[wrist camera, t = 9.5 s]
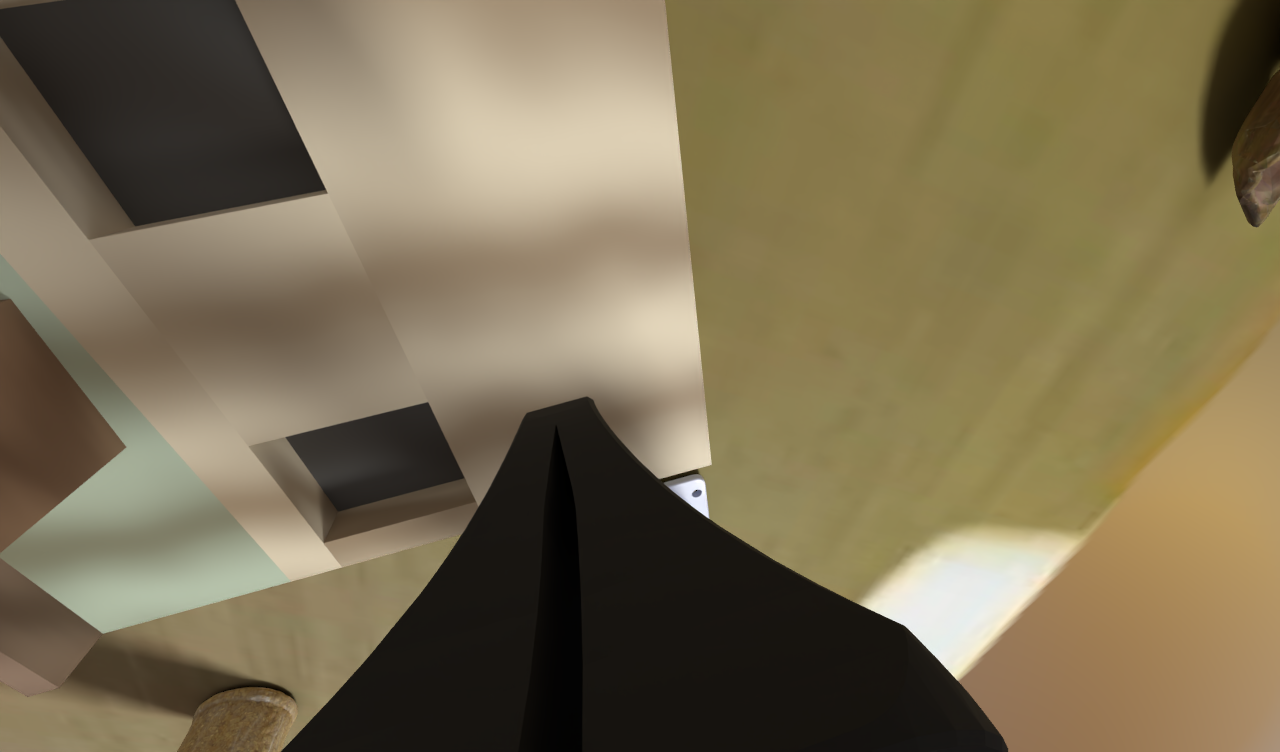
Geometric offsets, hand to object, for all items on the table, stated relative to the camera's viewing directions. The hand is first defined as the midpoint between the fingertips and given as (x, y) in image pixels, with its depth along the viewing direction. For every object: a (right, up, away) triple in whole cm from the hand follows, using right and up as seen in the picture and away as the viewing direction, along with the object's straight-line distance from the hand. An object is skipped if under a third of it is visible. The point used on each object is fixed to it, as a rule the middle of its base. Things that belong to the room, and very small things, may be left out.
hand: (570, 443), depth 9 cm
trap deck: (-10, +4, +6) cm, 12 cm away
